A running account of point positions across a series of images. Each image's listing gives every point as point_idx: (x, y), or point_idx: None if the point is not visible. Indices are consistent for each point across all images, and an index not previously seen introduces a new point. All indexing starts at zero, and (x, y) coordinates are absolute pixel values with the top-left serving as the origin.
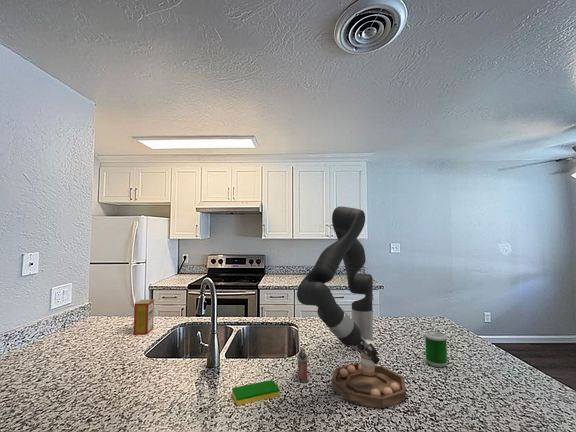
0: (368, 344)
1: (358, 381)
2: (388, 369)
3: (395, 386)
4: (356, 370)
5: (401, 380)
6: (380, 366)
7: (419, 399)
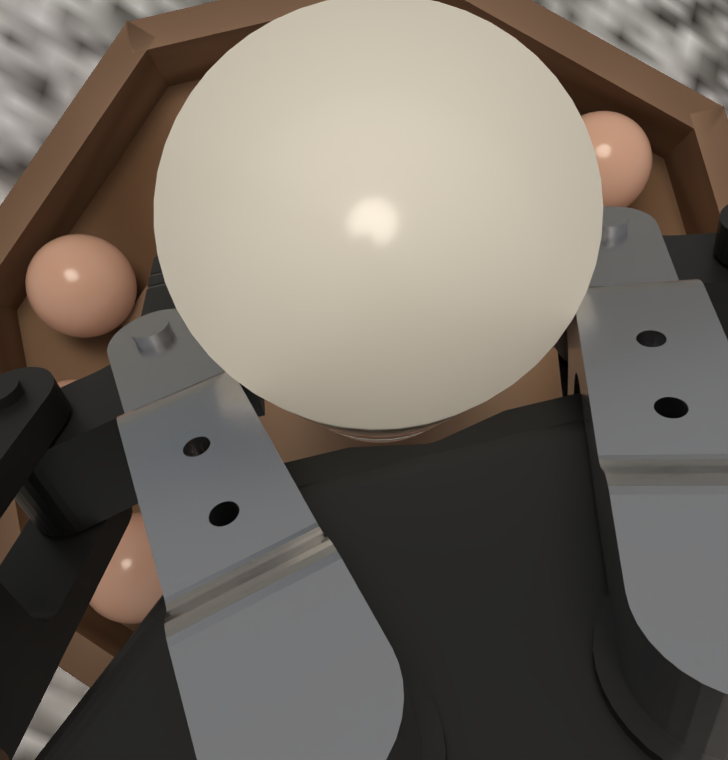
0: (712, 331)
1: (279, 434)
2: (221, 7)
3: (645, 166)
4: (33, 333)
5: (497, 16)
6: (123, 55)
7: (666, 18)
